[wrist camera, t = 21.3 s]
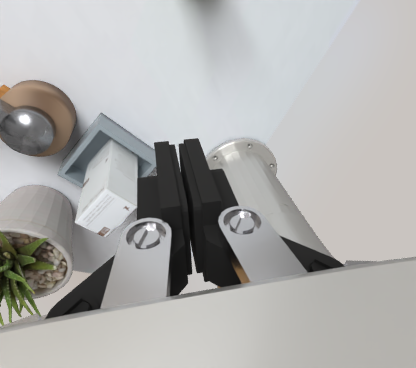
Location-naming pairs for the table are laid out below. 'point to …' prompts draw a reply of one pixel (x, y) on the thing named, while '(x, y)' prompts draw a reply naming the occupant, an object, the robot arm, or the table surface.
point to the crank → (26, 128)
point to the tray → (95, 140)
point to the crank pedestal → (44, 108)
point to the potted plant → (34, 245)
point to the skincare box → (108, 189)
